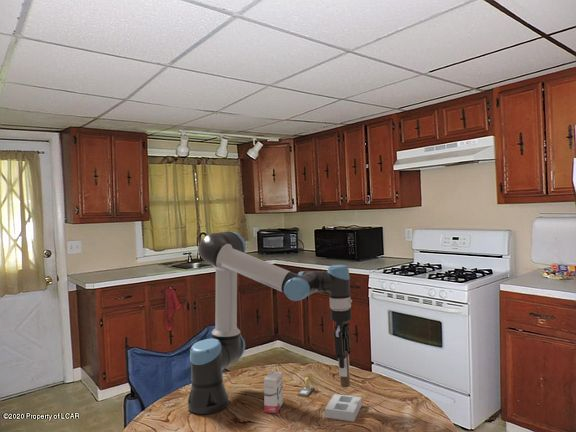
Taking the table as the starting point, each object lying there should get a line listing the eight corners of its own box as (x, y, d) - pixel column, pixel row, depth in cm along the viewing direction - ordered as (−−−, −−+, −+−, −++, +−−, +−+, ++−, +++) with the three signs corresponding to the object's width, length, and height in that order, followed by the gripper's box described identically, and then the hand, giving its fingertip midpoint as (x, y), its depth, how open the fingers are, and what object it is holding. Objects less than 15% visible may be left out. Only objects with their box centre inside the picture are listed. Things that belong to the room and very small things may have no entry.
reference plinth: (297, 395, 161) (296, 383, 161) (304, 387, 168) (304, 375, 168) (307, 396, 159) (306, 384, 159) (313, 388, 167) (313, 376, 167)
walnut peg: (339, 386, 147) (337, 353, 147) (342, 383, 150) (340, 350, 150) (348, 387, 146) (346, 353, 146) (350, 384, 149) (348, 350, 149)
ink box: (277, 413, 146) (276, 380, 146) (264, 412, 148) (262, 379, 148) (284, 402, 155) (282, 371, 155) (271, 402, 156) (269, 370, 156)
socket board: (325, 417, 142) (324, 408, 142) (334, 402, 153) (334, 394, 153) (353, 421, 138) (353, 412, 138) (361, 405, 149) (361, 397, 149)
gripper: (345, 314, 140) (349, 384, 139) (356, 304, 154) (359, 367, 154) (324, 313, 142) (327, 381, 142) (336, 303, 157) (340, 365, 157)
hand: (344, 374), depth 148 cm, fingers closed on walnut peg, 3 cm apart
